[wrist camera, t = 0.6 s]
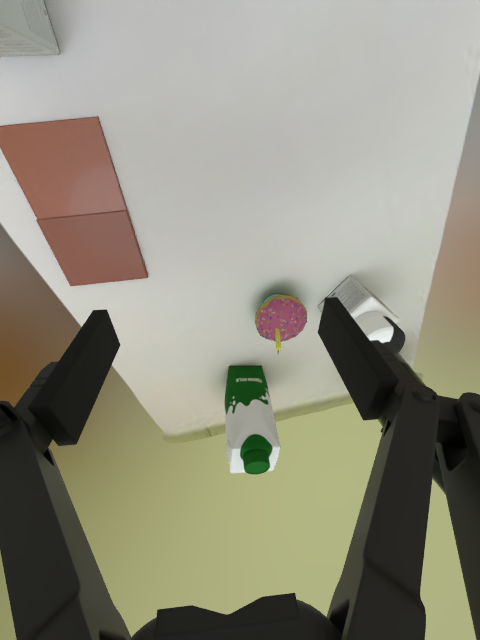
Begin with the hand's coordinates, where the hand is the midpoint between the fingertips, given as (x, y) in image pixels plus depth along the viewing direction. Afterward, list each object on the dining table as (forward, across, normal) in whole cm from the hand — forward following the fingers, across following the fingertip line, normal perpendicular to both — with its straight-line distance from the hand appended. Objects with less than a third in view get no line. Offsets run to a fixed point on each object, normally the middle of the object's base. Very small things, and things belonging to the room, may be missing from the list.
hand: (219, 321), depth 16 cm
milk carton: (+25, +4, -34) cm, 42 cm away
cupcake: (+26, +10, -16) cm, 31 cm away
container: (+26, +22, -16) cm, 37 cm away
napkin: (+26, -18, +1) cm, 31 cm away
